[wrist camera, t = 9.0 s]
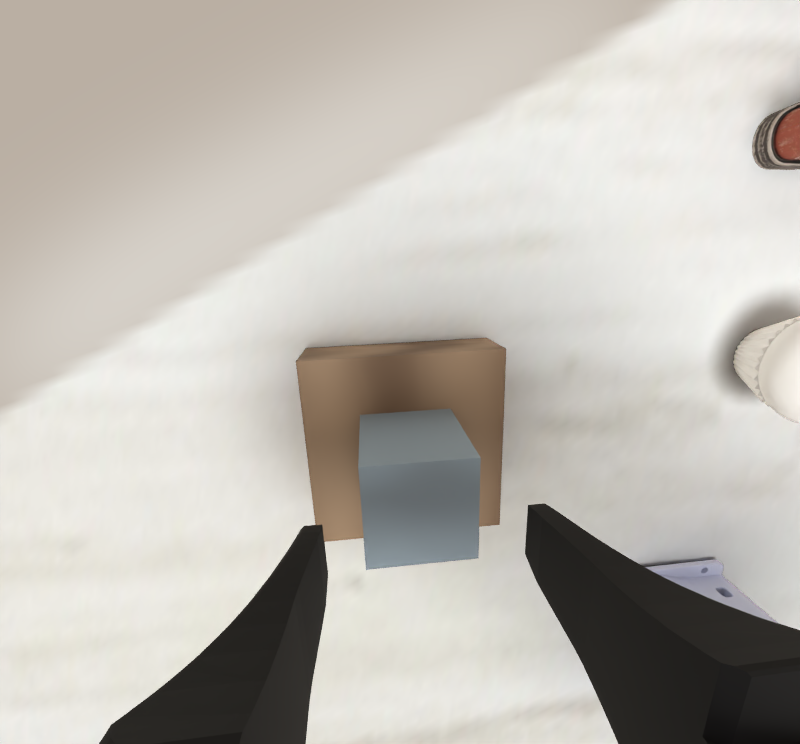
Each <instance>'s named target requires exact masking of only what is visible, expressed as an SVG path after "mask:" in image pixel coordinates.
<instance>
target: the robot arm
mask: <svg viewBox="0 0 800 744" xmlns="http://www.w3.org/2000/svg"><path fill="white" fill-rule="evenodd" d="M525 554H526V557H527V559H528V562H529V564H530V567H531V569H532V571H533V574H534V576H535V578H536V581H537V583H538V585H539V586H540V588H541V590H542V592H543V594H544V595H545V597H546V599H547V601H548V603H549V604H550V606H551V608H552V610H553V611H554V613H555V615H556V617H557V618H558V620H559V622H560V624H561V625H562V627H563V629H564V631H565V632H566V634H567V636H568V638H569V639H570V641H571V643H572V645H573V646H574V648H575V650H576V652H577V654H578V656H579V658H580V660H581V662H582V663H583V665H584V668H585V670H586V672H587V674H588V676H589V678H590V681H591V683H592V685H593V687H594V689H595V691H596V694H597V696H598V698H599V700H600V702H601V705H602V707H603V709H604V712H605V714H606V716H607V718H608V721H609V723H610V725H611V728H612V730H613V732H614V734H615V737H616V739H617V741H618V744H800V630H797V629H794V628H791V627H788V626H784V625H781V624H779V623H777V622H776V621H775V620H774V619H773V618H772V617H770V616H769V615H768V614H767V613H766V612H765V611H763V610H762V609H761V608H760V607H759V606H758V605H756V604H755V603H754V602H753V601H752V600H751V599H749V598H748V597H747V596H746V595H745V594H744V593H742V592H741V591H740V590H739V589H738V588H737V587H735V586H734V585H733V584H732V583H731V582H730V581H728V580H727V579H726V578H725V577H724V576H723V575H722V572H723V564H722V563H721V562H720V561H718V560H705V561H696V562H687V563H678V564H669V565H660V566H651V567H643V566H641V565H640V564H638V563H636V562H634V561H633V560H631V559H629V558H627V557H626V556H624V555H622V554H621V553H619V552H617V551H616V550H614V549H612V548H611V547H609V546H608V545H606V544H605V543H603V542H601V541H600V540H598V539H597V538H595V537H594V536H592V535H591V534H589V533H588V532H586V531H585V530H583V529H582V528H580V527H579V526H577V525H576V524H574V523H573V522H572V521H570V520H569V519H567V518H566V517H564V516H563V515H561V514H560V513H559V512H557V511H556V510H554V509H553V508H551V507H549V506H548V505H546V504H535V505H528V516H527V532H526V548H525ZM327 580H328V570H327V562H326V553H325V544H324V536H323V527H322V525H312V526H304V527H303V528H302V529H301V530H300V532H299V534H298V535H297V537H296V539H295V540H294V542H293V543H292V545H291V547H290V548H289V550H288V551H287V553H286V554H285V556H284V557H283V559H282V560H281V561H280V563H279V564H278V566H277V567H276V569H275V570H274V571H273V573H272V574H271V576H270V577H269V578H268V580H267V581H266V582H265V583H264V585H263V586H262V587H261V589H260V590H259V591H258V592H257V594H256V595H255V596H254V598H253V599H252V600H251V601H250V602H249V604H248V605H247V606H246V607H245V608H244V609H243V611H242V612H241V613H240V614H239V615H238V616H237V617H236V618H235V619H234V621H233V622H232V623H231V624H230V625H229V626H228V627H227V628H226V629H225V630H224V631H223V632H222V633H221V634H220V635H219V636H218V637H217V638H216V639H215V640H214V641H213V642H212V643H211V644H210V645H209V646H208V647H207V648H206V649H205V650H204V651H203V652H202V653H201V654H200V655H199V656H197V657H196V658H195V659H194V660H193V661H192V662H191V663H190V664H188V665H187V666H186V667H185V668H184V669H183V670H182V671H180V672H179V673H178V674H177V675H176V676H174V677H173V678H172V679H171V680H170V681H168V682H167V683H166V684H165V685H163V686H162V687H161V688H160V689H158V690H157V691H156V692H155V693H153V694H152V695H151V696H149V697H148V698H147V699H145V700H144V701H143V702H141V703H140V704H139V705H137V706H136V707H135V708H133V709H132V710H131V711H129V712H128V713H127V714H125V715H124V716H123V717H121V718H120V719H119V720H117V721H116V722H114V723H113V724H112V725H111V726H110V728H109V729H108V731H107V732H106V734H105V735H104V737H103V738H102V740H101V742H100V743H99V744H305V742H306V732H307V721H308V711H309V701H310V693H311V686H312V680H313V674H314V669H315V663H316V657H317V652H318V646H319V641H320V635H321V630H322V624H323V618H324V612H325V606H326V595H327Z"/></svg>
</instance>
